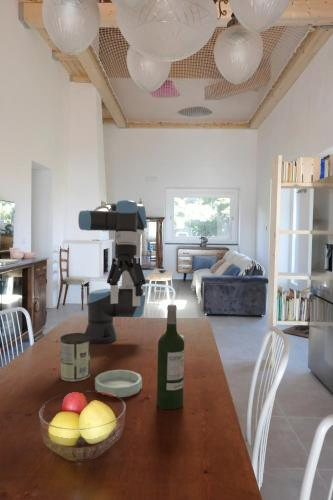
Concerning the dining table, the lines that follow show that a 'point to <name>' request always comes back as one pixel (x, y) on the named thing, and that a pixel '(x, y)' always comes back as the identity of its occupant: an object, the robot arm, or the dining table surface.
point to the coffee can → (75, 356)
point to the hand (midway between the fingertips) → (124, 304)
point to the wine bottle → (170, 365)
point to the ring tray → (119, 382)
